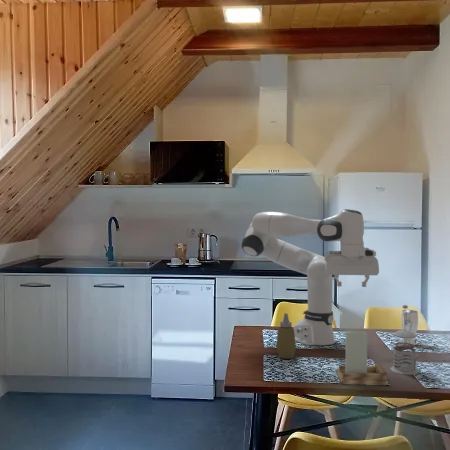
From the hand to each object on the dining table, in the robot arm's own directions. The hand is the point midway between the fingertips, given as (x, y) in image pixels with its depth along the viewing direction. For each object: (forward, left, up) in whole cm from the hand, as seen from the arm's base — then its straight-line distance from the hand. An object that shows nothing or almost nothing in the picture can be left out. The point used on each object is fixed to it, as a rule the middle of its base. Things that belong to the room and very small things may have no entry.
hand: (351, 286), depth 186 cm
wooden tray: (+10, -10, -31) cm, 34 cm away
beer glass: (+3, +46, -31) cm, 56 cm away
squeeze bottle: (-24, -10, -31) cm, 41 cm away
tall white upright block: (+9, -12, -30) cm, 33 cm away
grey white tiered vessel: (+18, +10, -31) cm, 37 cm away
